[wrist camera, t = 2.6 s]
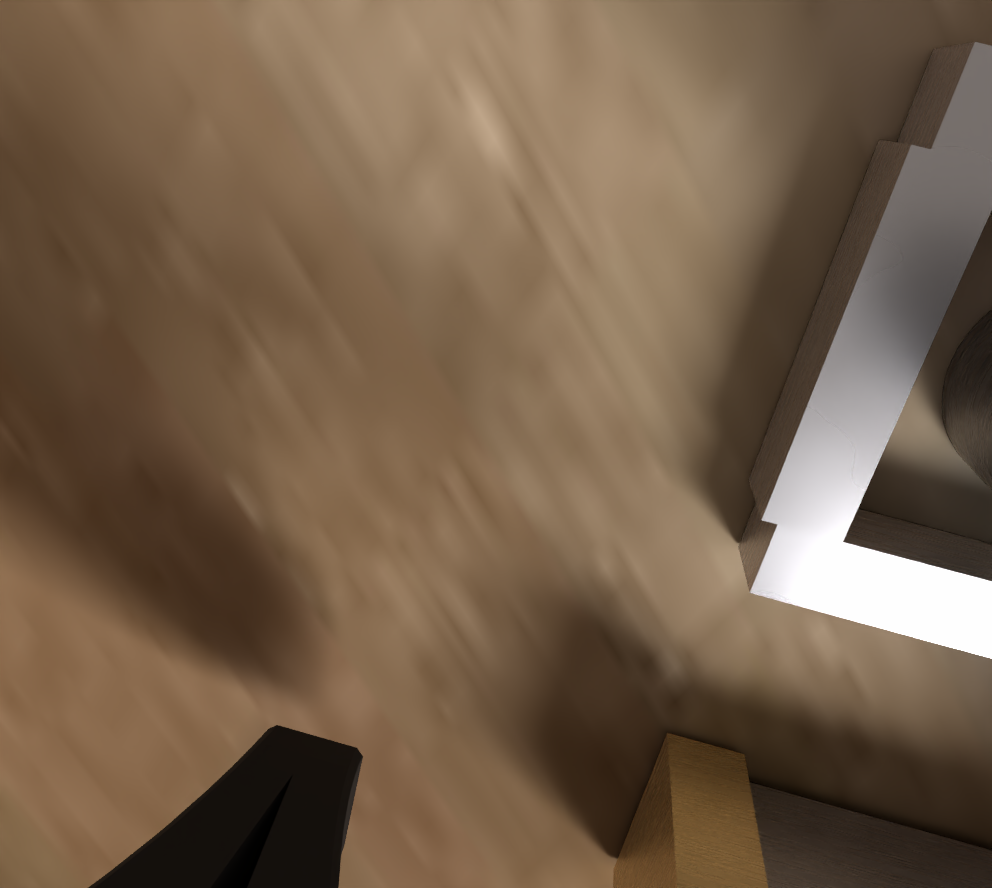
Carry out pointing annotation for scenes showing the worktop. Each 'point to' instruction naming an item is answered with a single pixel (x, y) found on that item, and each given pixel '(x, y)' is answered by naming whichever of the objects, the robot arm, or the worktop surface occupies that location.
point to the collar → (881, 383)
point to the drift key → (773, 836)
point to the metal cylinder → (971, 400)
